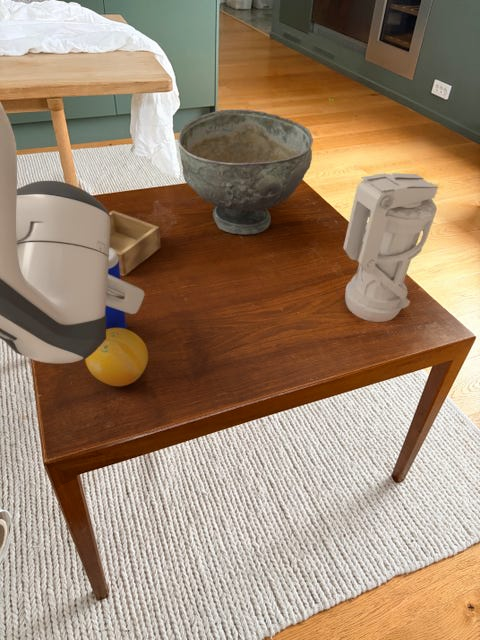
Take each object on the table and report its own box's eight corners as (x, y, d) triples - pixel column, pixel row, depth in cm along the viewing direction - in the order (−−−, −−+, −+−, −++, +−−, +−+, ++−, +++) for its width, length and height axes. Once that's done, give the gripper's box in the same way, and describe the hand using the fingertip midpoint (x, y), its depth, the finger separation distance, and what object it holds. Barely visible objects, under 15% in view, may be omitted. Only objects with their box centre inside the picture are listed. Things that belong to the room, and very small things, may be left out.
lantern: (376, 281, 95) (412, 156, 79) (413, 314, 89) (461, 184, 72) (320, 298, 91) (347, 169, 74) (355, 334, 84) (393, 200, 67)
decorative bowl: (296, 192, 120) (305, 107, 106) (311, 254, 101) (323, 161, 88) (187, 192, 119) (182, 107, 106) (181, 254, 101) (173, 161, 87)
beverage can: (133, 329, 82) (125, 253, 72) (110, 346, 79) (99, 269, 69) (110, 316, 84) (100, 241, 74) (87, 333, 81) (73, 256, 71)
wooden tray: (124, 276, 93) (121, 254, 89) (76, 256, 96) (72, 235, 93) (160, 247, 100) (159, 226, 97) (115, 230, 104) (112, 210, 101)
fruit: (80, 389, 72) (70, 350, 67) (103, 351, 78) (96, 312, 73) (137, 401, 71) (132, 363, 65) (157, 362, 77) (154, 324, 71)
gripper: (119, 269, 59) (170, 291, 72) (0, 215, 66) (66, 244, 79) (98, 317, 59) (152, 330, 72) (-19, 258, 66) (50, 280, 79)
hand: (106, 285), depth 76 cm, fingers closed on beverage can, 5 cm apart
